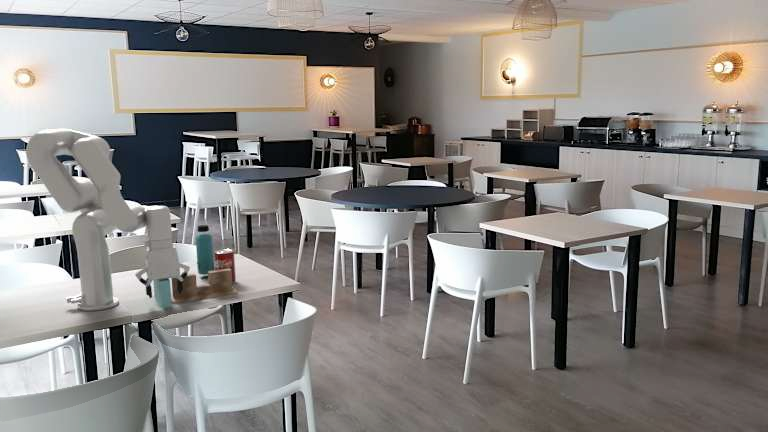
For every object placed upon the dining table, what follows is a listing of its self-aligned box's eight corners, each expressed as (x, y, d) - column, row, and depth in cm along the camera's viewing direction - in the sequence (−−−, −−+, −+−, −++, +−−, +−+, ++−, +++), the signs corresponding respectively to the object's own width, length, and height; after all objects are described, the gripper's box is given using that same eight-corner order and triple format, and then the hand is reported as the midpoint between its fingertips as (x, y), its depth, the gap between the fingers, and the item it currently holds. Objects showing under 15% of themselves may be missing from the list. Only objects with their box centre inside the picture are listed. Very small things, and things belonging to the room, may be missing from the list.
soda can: (230, 286, 241) (228, 253, 239) (212, 285, 243) (210, 253, 240) (239, 280, 248) (237, 249, 246) (220, 279, 250) (219, 248, 247)
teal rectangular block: (161, 308, 217) (159, 281, 215) (154, 297, 229) (152, 272, 227) (171, 306, 218) (169, 280, 217) (164, 296, 230) (162, 270, 229)
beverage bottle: (219, 275, 256) (215, 224, 252) (206, 279, 250) (202, 227, 247) (207, 273, 259) (203, 223, 256) (194, 277, 254) (190, 226, 250)
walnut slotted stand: (172, 303, 221) (171, 280, 220) (168, 297, 228) (166, 274, 227) (237, 293, 231) (236, 271, 230) (231, 288, 238) (230, 266, 237)
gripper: (134, 249, 209) (139, 301, 212) (190, 242, 217) (194, 293, 220) (131, 245, 216) (135, 296, 219) (185, 238, 224) (189, 288, 227)
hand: (165, 294), depth 220 cm, fingers open, 9 cm apart
